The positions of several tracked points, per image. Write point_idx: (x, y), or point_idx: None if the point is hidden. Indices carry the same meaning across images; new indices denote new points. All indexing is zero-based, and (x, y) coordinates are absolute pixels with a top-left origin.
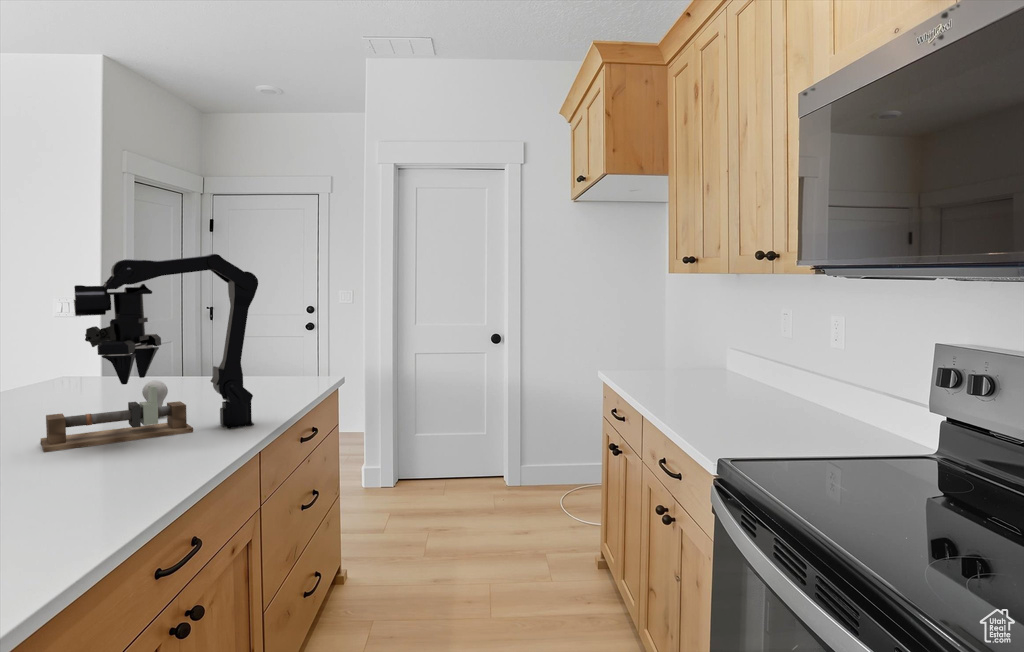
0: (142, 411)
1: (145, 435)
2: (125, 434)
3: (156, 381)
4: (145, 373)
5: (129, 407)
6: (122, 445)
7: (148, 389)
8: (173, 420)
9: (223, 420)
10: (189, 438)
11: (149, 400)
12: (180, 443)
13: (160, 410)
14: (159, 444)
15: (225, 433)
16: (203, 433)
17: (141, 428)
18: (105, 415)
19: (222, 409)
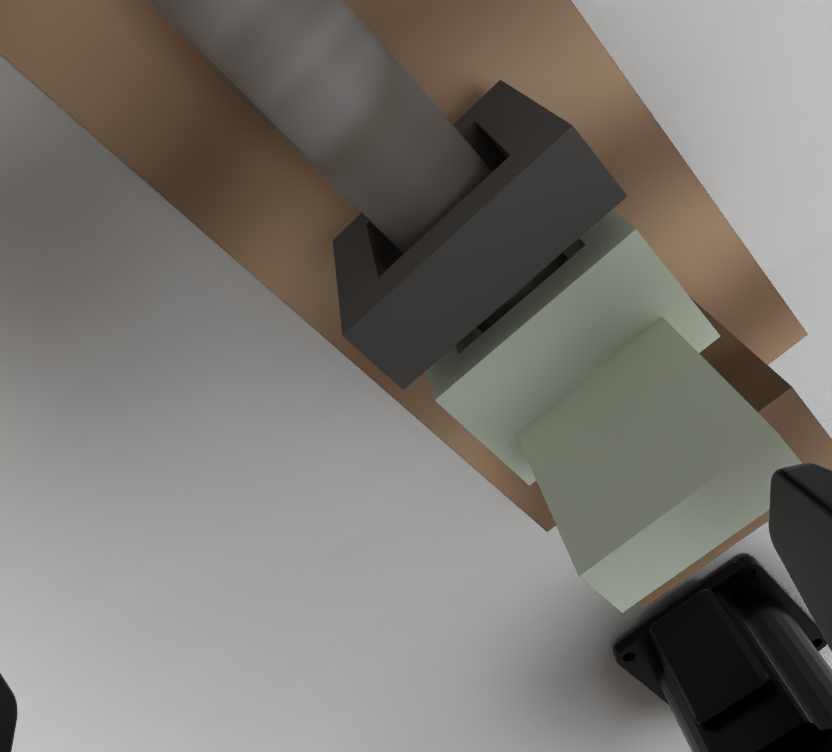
0: None
1: (325, 331)
2: (291, 175)
3: None
4: (818, 618)
5: (485, 179)
6: (86, 287)
7: (721, 417)
8: None
9: (663, 653)
10: (366, 579)
11: (616, 374)
12: (234, 601)
13: None
14: (182, 508)
15: (505, 680)
16: (503, 581)
17: None
18: (187, 29)
19: (710, 710)
